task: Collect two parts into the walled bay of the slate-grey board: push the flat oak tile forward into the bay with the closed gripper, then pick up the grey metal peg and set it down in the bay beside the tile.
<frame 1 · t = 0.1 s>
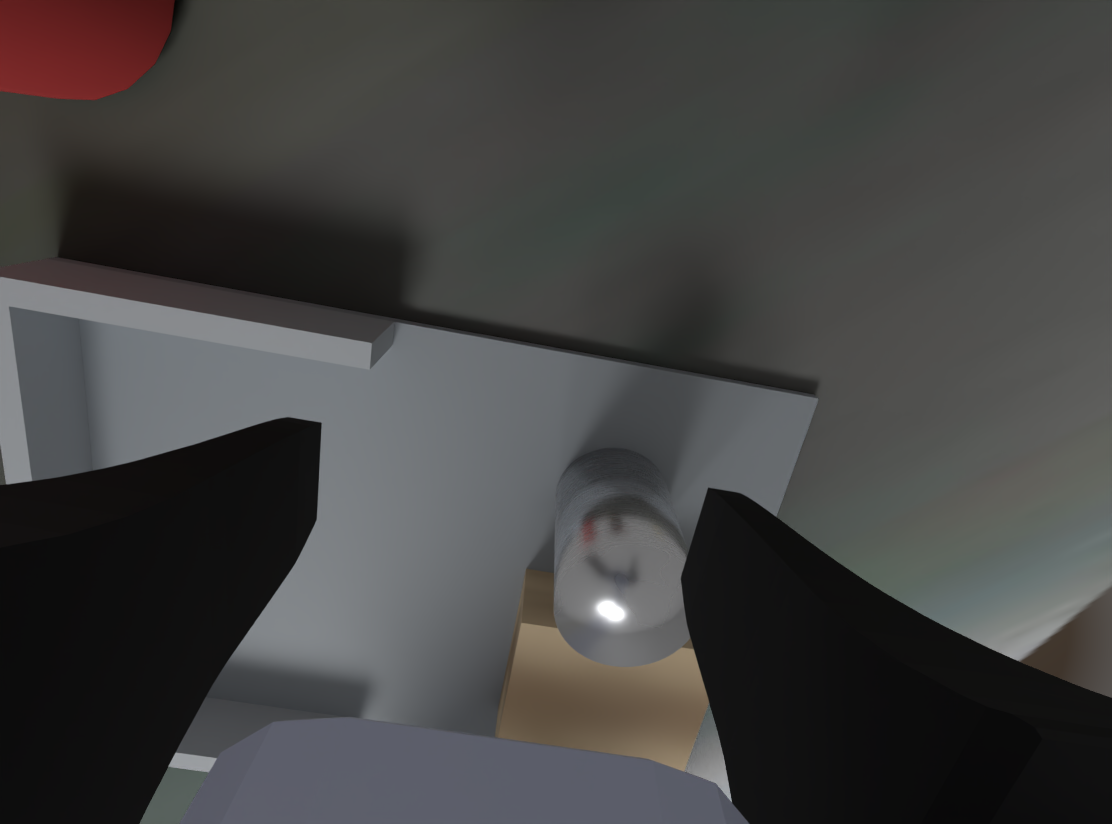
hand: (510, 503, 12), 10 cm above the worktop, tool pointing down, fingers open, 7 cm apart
oak tile: (598, 655, 25), resting on parts board
metal peg: (611, 498, 23), resting on parts board
parts board: (420, 556, 24), on the worktop
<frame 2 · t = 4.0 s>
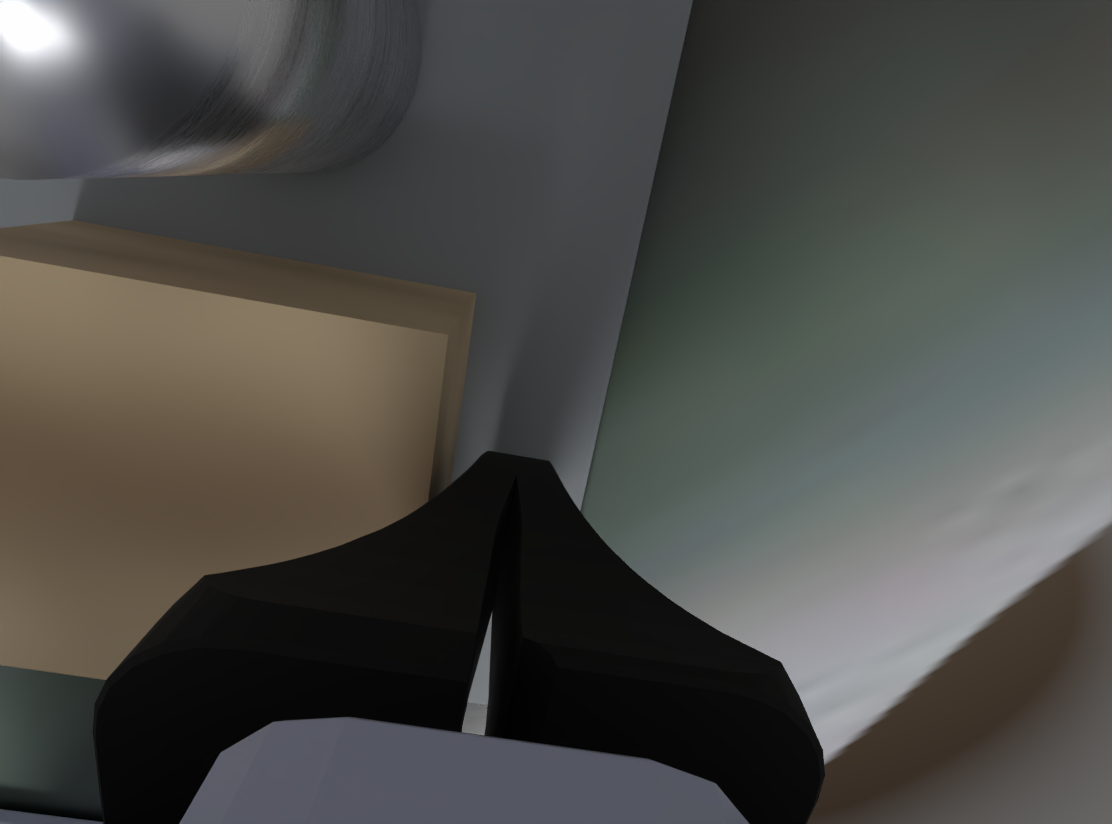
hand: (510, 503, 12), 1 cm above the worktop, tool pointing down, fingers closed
oak tile: (274, 437, 12), resting on parts board
metal peg: (292, 34, 10), resting on parts board
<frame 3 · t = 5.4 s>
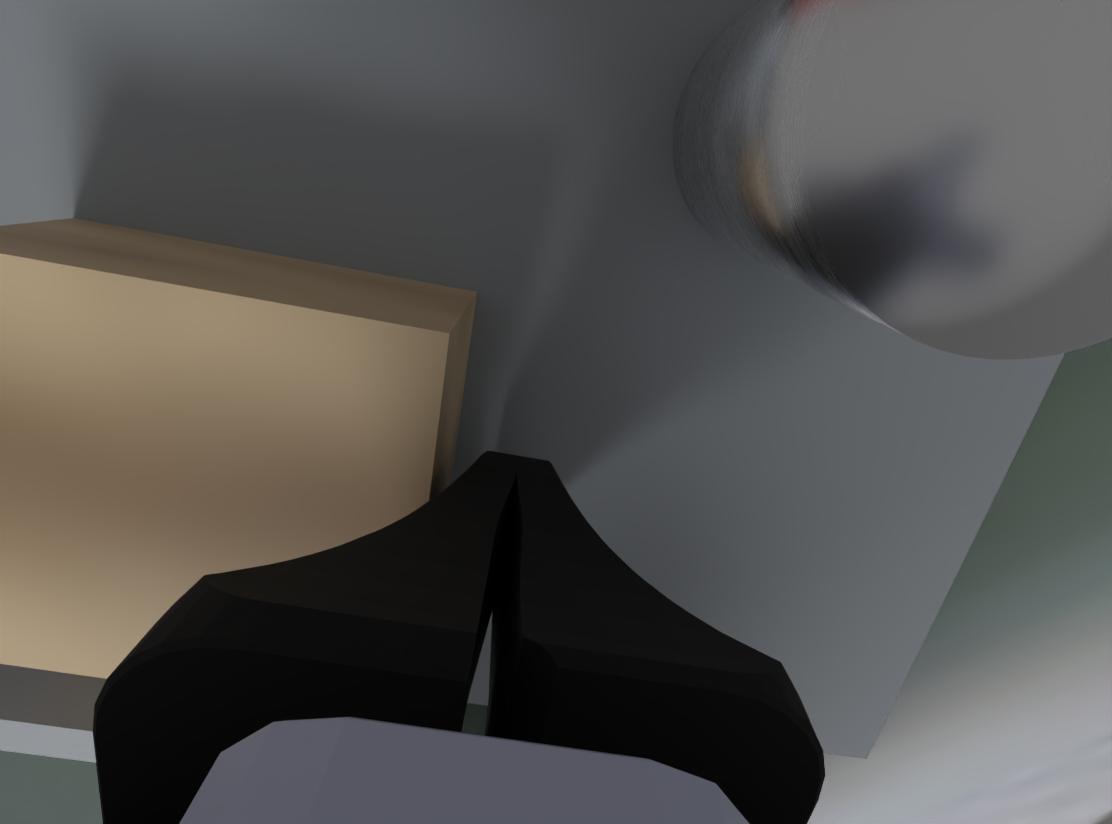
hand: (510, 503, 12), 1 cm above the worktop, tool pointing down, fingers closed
oak tile: (274, 436, 12), resting on parts board, touching gripper
metal peg: (795, 136, 10), resting on parts board
parts board: (384, 301, 12), on the worktop
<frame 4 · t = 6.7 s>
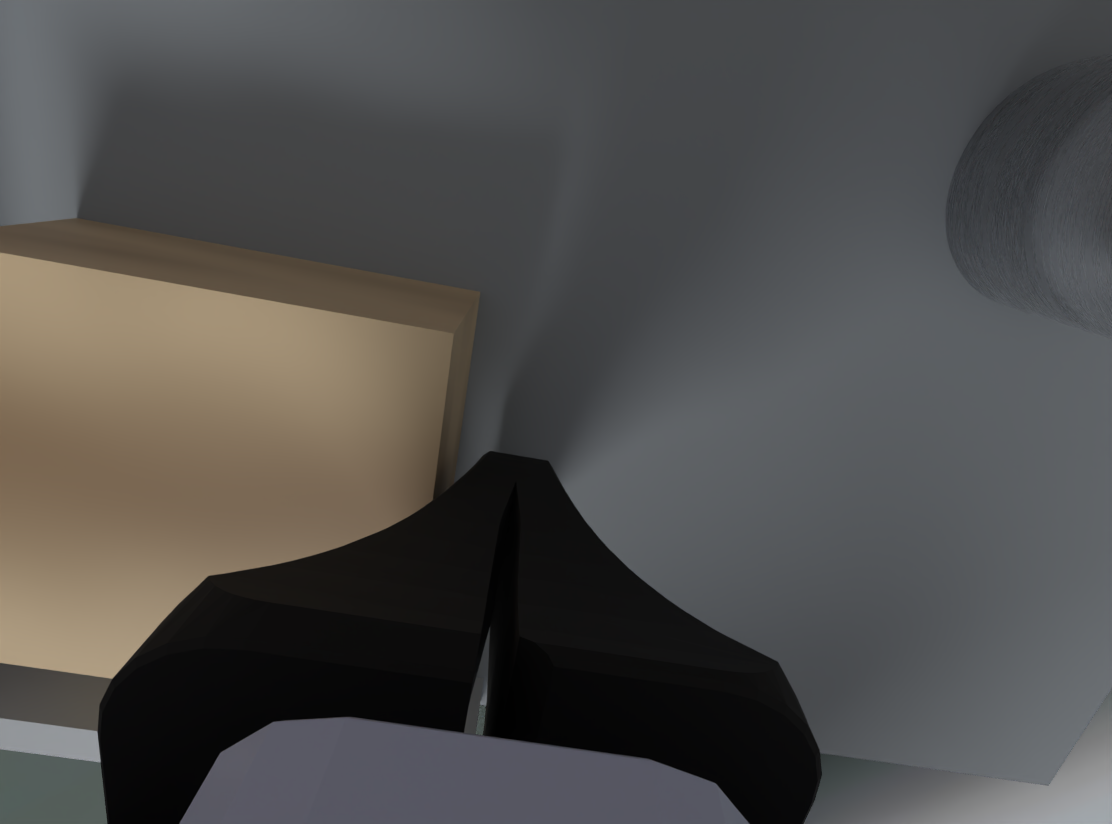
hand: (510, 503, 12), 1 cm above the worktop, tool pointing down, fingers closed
oak tile: (278, 435, 12), resting on parts board, touching gripper
metal peg: (1067, 192, 11), resting on parts board
parts board: (633, 345, 12), on the worktop
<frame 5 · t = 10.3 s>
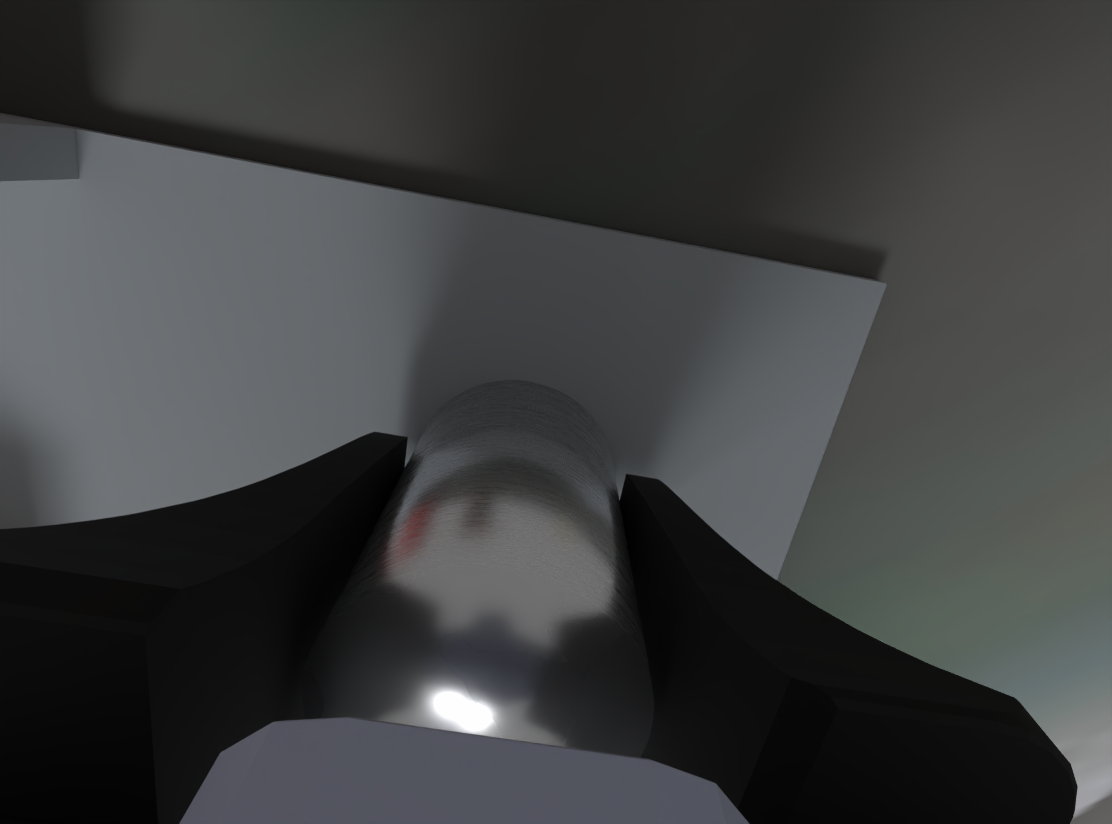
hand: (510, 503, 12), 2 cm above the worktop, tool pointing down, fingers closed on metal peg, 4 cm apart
metal peg: (514, 473, 13), resting on parts board, touching gripper
parts board: (202, 574, 14), on the worktop
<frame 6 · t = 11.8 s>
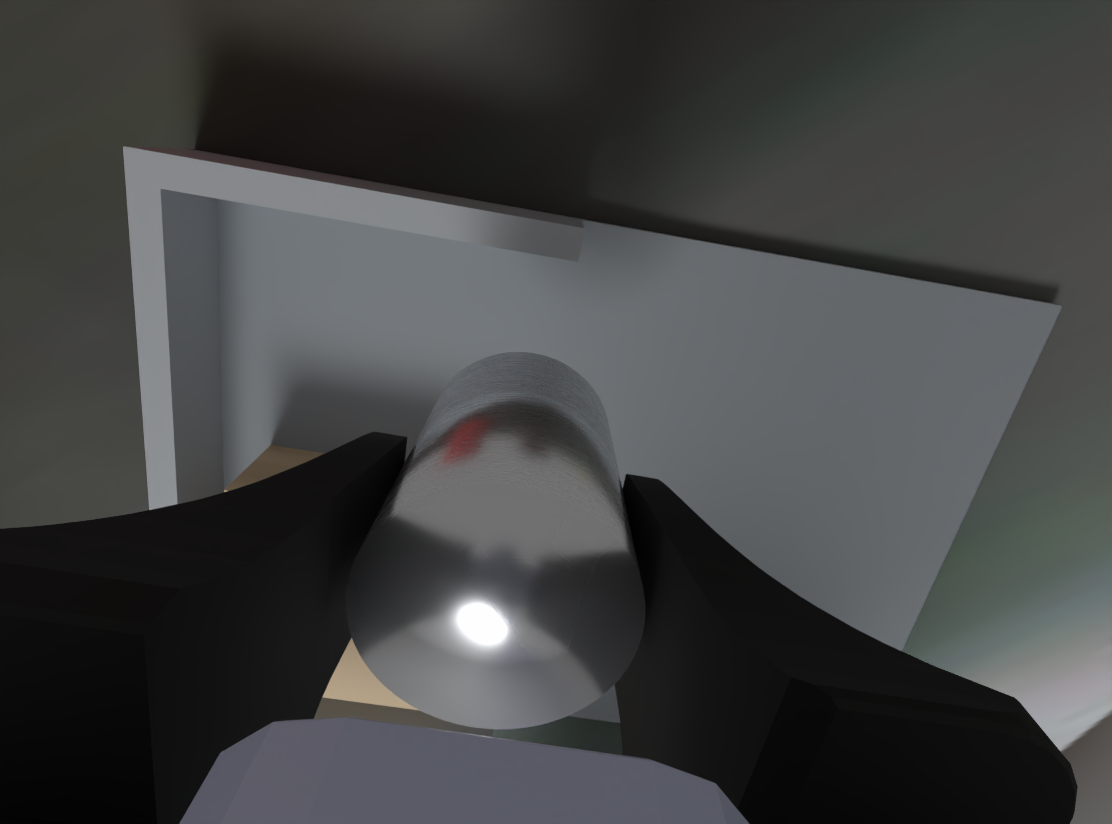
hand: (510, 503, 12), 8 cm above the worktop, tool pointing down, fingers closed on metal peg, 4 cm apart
oak tile: (373, 553, 22), resting on parts board
metal peg: (519, 438, 14), point 6 cm above the worktop, touching gripper
parts board: (581, 502, 21), on the worktop
when the fingers open (3 cm above the worktop, at t = 13.5 s): metal peg stays where it is, resting on parts board.
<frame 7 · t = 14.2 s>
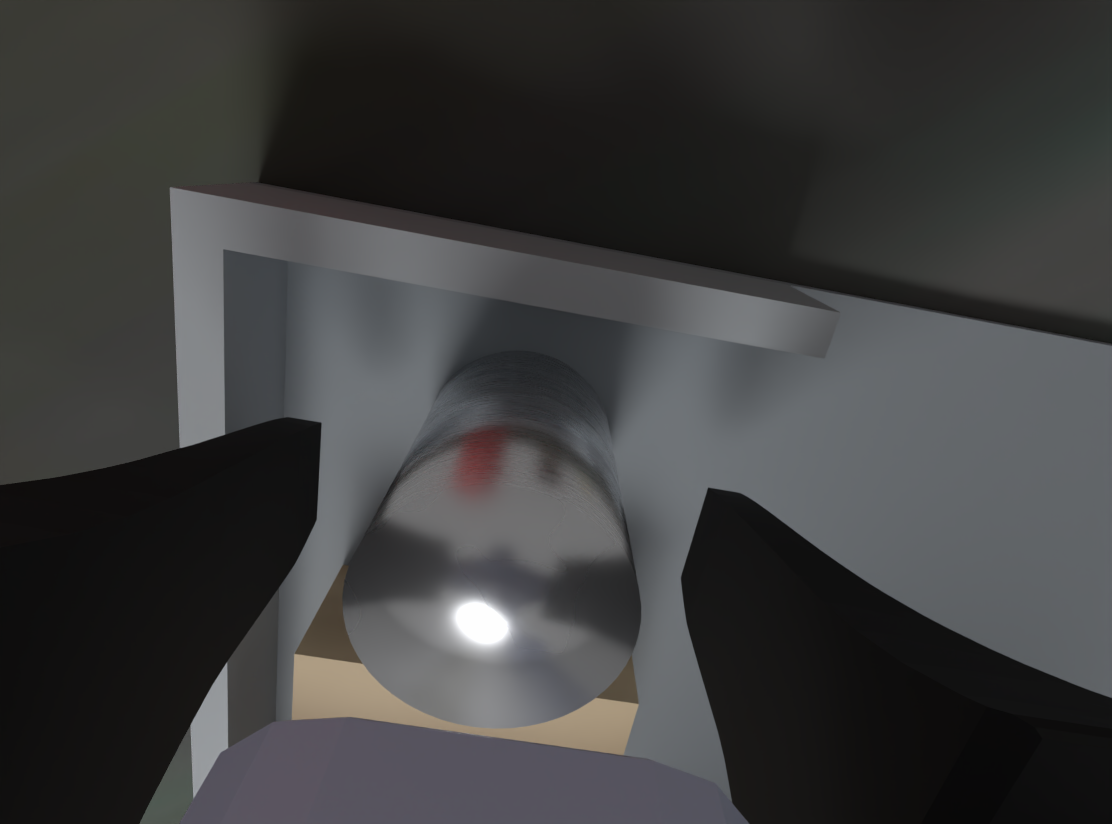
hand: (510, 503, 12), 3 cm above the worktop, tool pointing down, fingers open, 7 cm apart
oak tile: (467, 694, 17), resting on parts board
metal peg: (519, 437, 14), resting on parts board
parts board: (738, 634, 16), on the worktop
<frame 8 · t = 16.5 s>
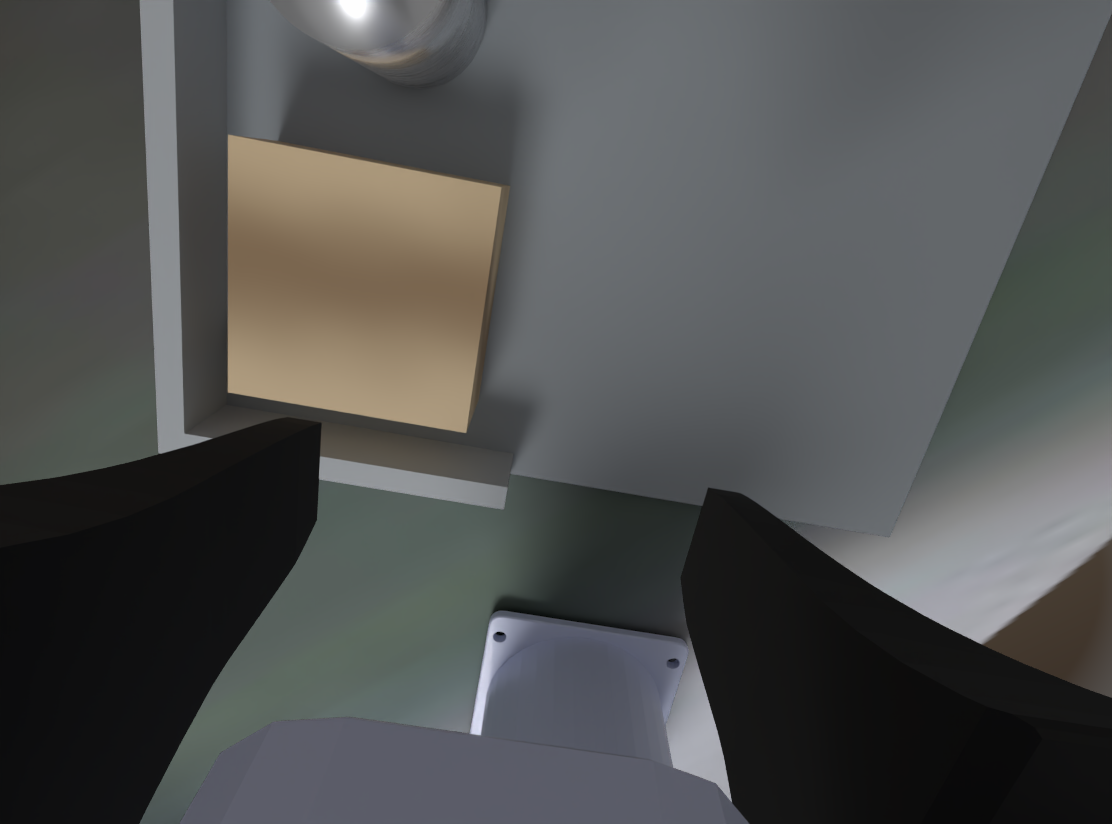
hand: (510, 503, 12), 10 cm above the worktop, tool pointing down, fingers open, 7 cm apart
oak tile: (385, 279, 20), resting on parts board
metal peg: (415, 8, 18), resting on parts board
parts board: (608, 223, 20), on the worktop
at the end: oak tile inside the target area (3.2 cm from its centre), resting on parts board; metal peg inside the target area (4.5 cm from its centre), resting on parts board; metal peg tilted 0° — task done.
